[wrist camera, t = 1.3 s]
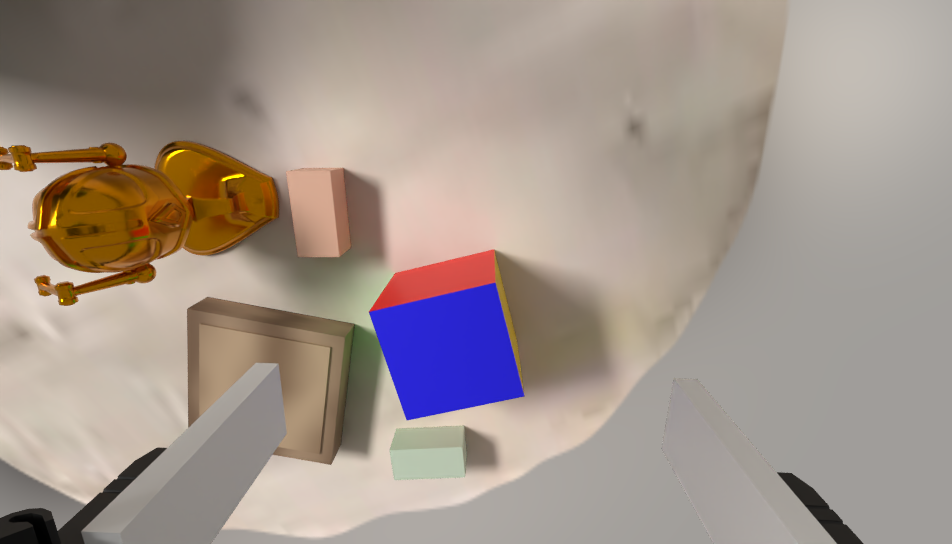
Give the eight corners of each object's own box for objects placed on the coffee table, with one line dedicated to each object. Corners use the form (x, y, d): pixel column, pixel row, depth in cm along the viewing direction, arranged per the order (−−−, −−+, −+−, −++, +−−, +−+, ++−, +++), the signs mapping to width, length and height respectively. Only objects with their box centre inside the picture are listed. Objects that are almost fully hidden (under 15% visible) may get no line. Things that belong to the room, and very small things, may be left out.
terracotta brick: (351, 246, 34) (339, 257, 32) (313, 246, 34) (297, 257, 32) (344, 167, 33) (330, 171, 30) (303, 168, 33) (286, 171, 30)
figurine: (123, 142, 32) (-77, 147, 21) (268, 138, 32) (145, 140, 20) (152, 255, 35) (-13, 314, 23) (287, 252, 34) (186, 311, 23)
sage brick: (401, 455, 40) (394, 480, 37) (396, 427, 39) (389, 450, 36) (466, 452, 40) (465, 477, 37) (464, 424, 39) (462, 447, 36)
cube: (494, 249, 34) (495, 282, 26) (517, 341, 36) (524, 396, 29) (395, 272, 35) (368, 311, 27) (423, 361, 37) (406, 420, 29)
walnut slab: (206, 421, 39) (187, 441, 37) (207, 297, 36) (185, 309, 33) (340, 444, 40) (330, 465, 37) (354, 323, 36) (344, 338, 34)
